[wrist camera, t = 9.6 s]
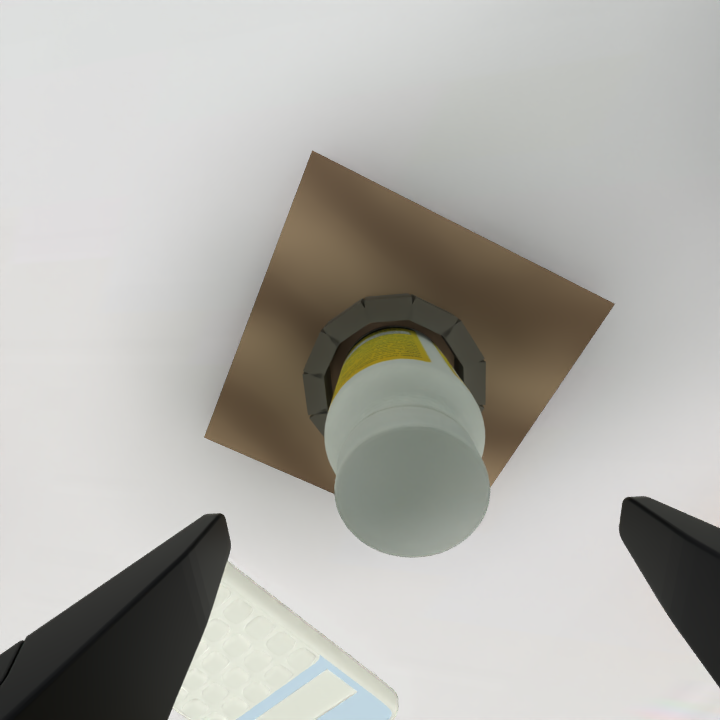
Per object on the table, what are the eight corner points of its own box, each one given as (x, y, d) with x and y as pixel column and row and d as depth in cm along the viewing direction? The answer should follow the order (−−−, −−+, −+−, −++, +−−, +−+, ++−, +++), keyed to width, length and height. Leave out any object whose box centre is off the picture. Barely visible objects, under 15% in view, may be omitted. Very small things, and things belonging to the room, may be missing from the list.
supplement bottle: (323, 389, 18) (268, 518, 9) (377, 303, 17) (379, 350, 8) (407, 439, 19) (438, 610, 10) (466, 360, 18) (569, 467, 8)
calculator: (203, 533, 24) (189, 556, 22) (404, 689, 27) (406, 720, 25) (101, 630, 27) (80, 657, 25) (292, 760, 30) (286, 793, 28)
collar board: (316, 158, 17) (302, 134, 14) (599, 301, 18) (646, 309, 15) (213, 427, 21) (185, 456, 18) (447, 529, 22) (459, 573, 19)
